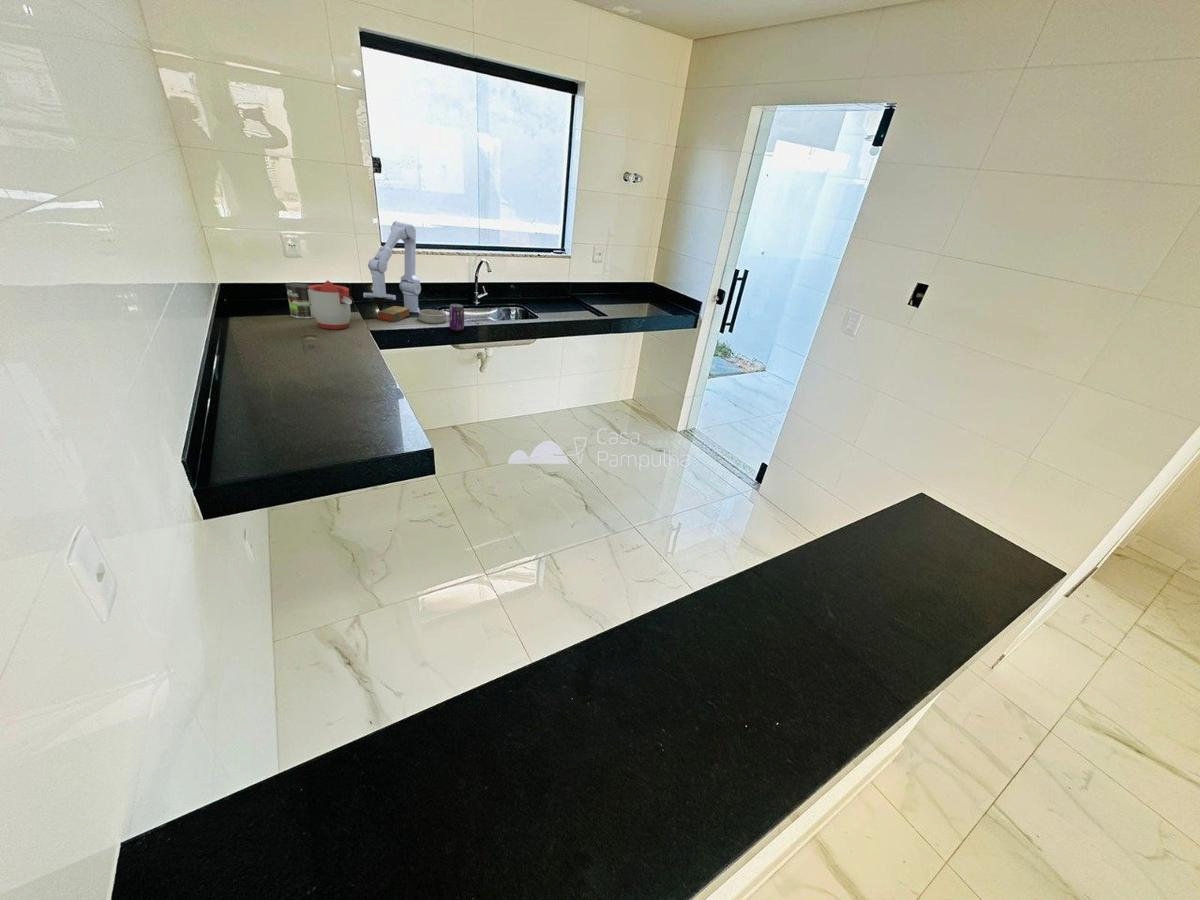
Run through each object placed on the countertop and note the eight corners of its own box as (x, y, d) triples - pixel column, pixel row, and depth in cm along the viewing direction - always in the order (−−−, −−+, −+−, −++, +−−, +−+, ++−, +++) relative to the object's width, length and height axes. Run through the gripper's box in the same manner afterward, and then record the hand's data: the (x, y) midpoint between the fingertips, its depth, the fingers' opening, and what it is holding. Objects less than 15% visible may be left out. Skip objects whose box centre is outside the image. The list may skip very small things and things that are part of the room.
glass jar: (301, 319, 212) (296, 287, 205) (285, 315, 215) (279, 283, 208) (321, 316, 221) (317, 285, 214) (305, 312, 223) (300, 281, 217)
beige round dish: (419, 316, 246) (418, 308, 244) (445, 318, 250) (445, 310, 248) (418, 322, 235) (417, 314, 233) (445, 324, 239) (445, 316, 237)
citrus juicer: (341, 334, 202) (335, 286, 192) (305, 326, 204) (297, 279, 194) (364, 326, 215) (359, 282, 206) (330, 320, 217) (324, 275, 208)
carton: (409, 316, 243) (409, 308, 241) (394, 322, 229) (393, 313, 227) (394, 313, 244) (394, 305, 242) (377, 319, 230) (377, 310, 228)
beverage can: (461, 332, 231) (461, 307, 225) (447, 330, 230) (447, 305, 225) (465, 328, 237) (465, 305, 232) (451, 326, 237) (451, 302, 231)
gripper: (361, 285, 222) (364, 313, 228) (394, 288, 226) (396, 315, 233) (363, 282, 228) (366, 310, 234) (395, 285, 232) (397, 312, 239)
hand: (381, 312), depth 234 cm, fingers closed
